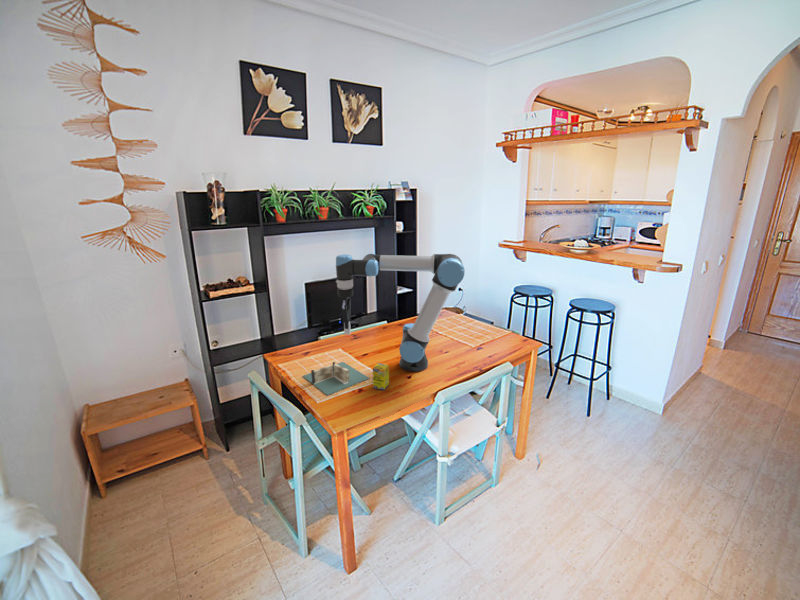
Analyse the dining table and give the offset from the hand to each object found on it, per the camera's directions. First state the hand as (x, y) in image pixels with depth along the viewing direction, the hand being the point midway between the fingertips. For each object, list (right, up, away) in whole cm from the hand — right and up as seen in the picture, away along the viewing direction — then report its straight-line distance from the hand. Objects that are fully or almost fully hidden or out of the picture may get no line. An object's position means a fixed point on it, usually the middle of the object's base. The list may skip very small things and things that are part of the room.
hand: (347, 333), depth 184 cm
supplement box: (+17, -25, -5) cm, 31 cm away
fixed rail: (-12, -23, +1) cm, 26 cm away
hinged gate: (-4, -22, +2) cm, 22 cm away
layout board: (-6, -22, +4) cm, 23 cm away
